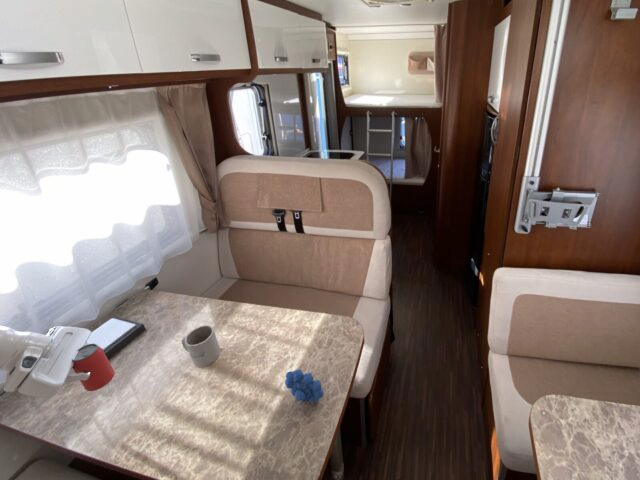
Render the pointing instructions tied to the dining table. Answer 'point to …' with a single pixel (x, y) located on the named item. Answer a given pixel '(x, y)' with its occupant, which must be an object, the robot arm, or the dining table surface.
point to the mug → (202, 345)
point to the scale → (115, 334)
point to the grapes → (303, 386)
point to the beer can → (93, 366)
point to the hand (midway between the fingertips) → (94, 364)
